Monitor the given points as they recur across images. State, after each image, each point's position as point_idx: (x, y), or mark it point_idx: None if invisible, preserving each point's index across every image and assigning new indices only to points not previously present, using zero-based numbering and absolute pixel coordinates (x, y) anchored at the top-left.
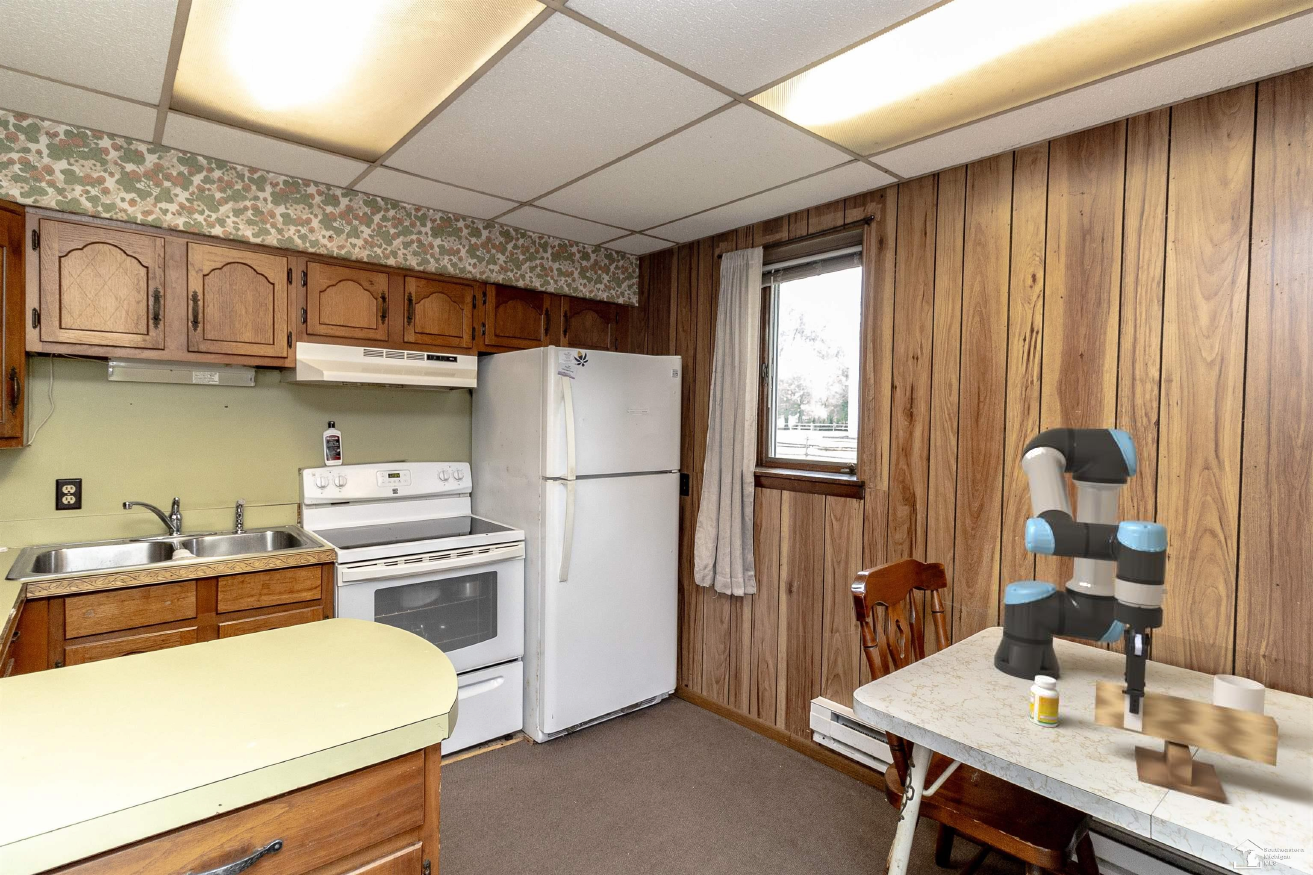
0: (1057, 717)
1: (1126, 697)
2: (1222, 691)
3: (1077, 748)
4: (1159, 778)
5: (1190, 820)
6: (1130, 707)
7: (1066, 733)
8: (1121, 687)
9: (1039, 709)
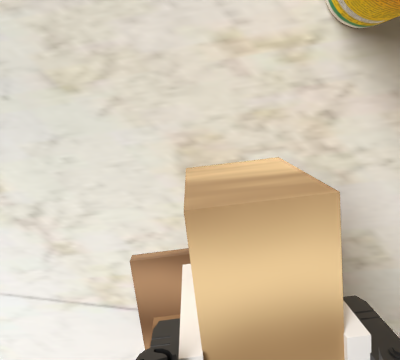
0: (370, 22)
1: (181, 346)
2: None
3: (223, 108)
4: (150, 299)
5: (12, 351)
6: (152, 341)
7: (318, 63)
8: (298, 323)
9: None
